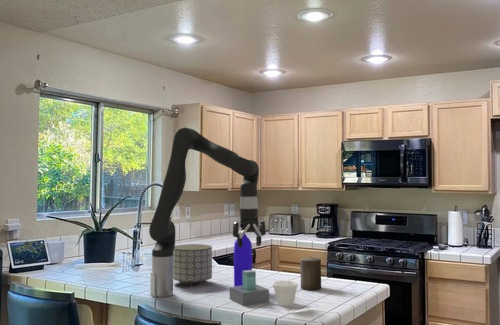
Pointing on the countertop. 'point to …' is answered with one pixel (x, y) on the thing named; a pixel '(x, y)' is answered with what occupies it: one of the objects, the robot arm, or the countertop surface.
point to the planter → (192, 263)
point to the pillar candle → (310, 273)
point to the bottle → (242, 259)
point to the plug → (249, 279)
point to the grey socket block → (249, 295)
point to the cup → (285, 292)
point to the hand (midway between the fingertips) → (249, 246)
